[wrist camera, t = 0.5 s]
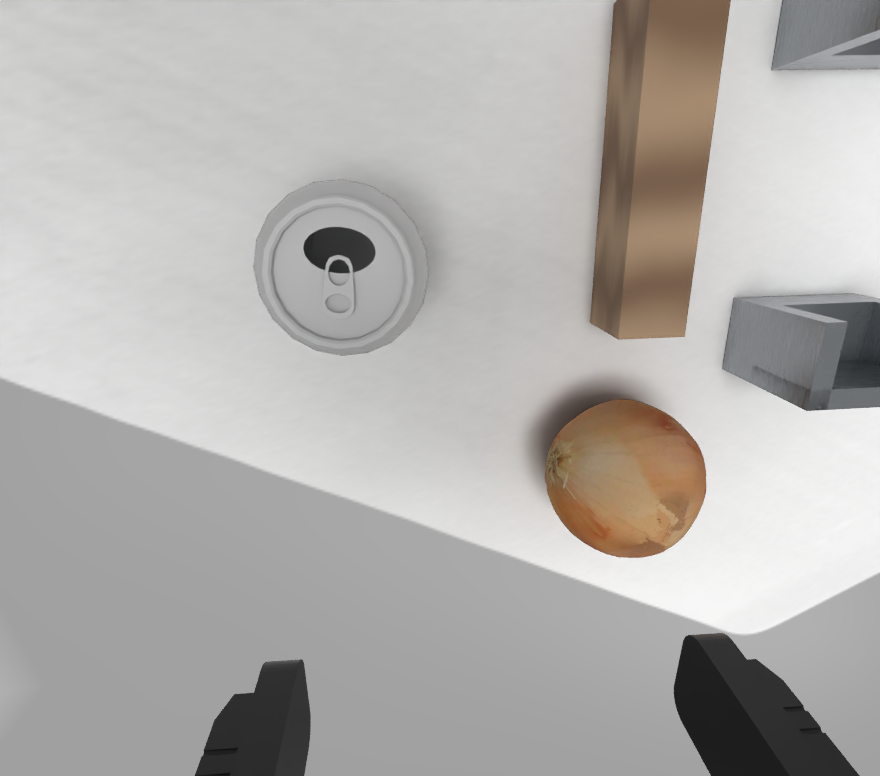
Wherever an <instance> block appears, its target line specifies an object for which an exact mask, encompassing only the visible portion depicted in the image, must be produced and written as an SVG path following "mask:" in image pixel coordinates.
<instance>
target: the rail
mask: <svg viewBox="0 0 880 776" xmlns="http://www.w3.org/2000/svg"><path fill="white" fill-rule="evenodd" d="M730 1H731V0H617V1H616V2H615V3H614V10H613V23H612V37H611V50H610V64H609V77H608V90H607V104H606V117H605V131H604V144H603V157H602V171H601V184H600V198H599V211H598V224H597V238H596V251H595V265H594V278H593V291H592V305H591V318H590V323H592V324H593V325H595V326H597V327H598V328H600V329H602V330H603V331H605V332H607V333H608V334H610V335H612V336H613V337H615V338H617V339H641V338H665V337H685V329H686V322H687V315H688V307H689V300H690V293H691V286H692V278H693V271H694V264H695V256H696V249H697V242H698V235H699V227H700V220H701V213H702V205H703V198H704V191H705V183H706V176H707V169H708V162H709V154H710V147H711V140H712V132H713V125H714V118H715V111H716V103H717V96H718V89H719V81H720V74H721V67H722V59H723V52H724V45H725V38H726V30H727V23H728V16H729V8H730Z"/></svg>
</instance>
